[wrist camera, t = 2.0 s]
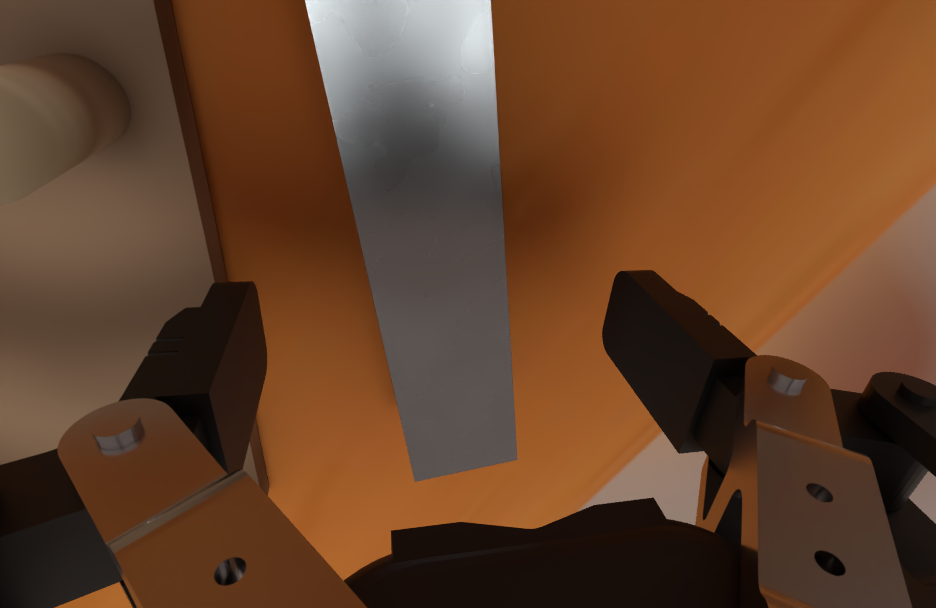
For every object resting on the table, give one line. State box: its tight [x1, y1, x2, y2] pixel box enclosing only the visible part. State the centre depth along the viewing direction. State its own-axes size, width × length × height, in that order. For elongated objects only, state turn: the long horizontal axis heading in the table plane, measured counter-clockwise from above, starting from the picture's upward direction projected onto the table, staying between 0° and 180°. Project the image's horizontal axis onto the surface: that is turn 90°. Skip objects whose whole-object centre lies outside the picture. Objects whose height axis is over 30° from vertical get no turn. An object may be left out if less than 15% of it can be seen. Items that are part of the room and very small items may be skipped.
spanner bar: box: [305, 0, 517, 482], centre depth 14 cm, size 16×4×4 cm, turn 5°
